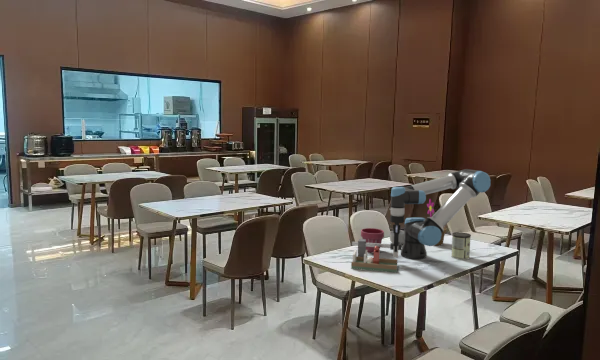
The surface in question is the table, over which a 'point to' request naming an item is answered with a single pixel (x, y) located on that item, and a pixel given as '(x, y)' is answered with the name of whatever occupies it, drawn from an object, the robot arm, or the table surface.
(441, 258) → the table surface
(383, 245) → the slider
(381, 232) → the plant pot
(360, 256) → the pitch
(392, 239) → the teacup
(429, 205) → the flowerpot
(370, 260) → the ball
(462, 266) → the table surface
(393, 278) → the table surface
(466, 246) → the coffee can
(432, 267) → the table surface
